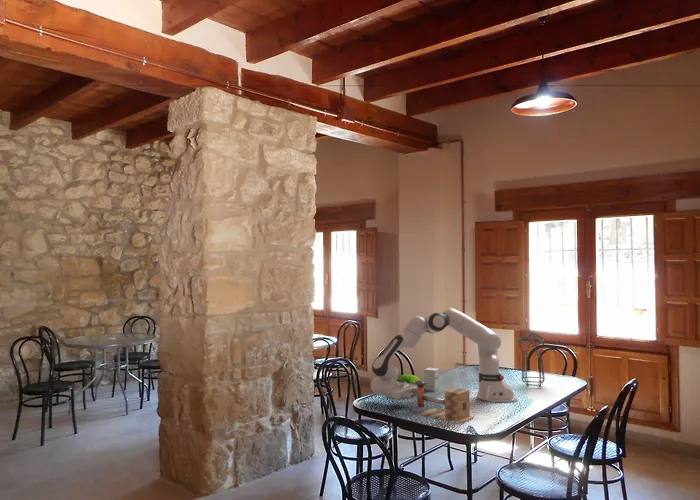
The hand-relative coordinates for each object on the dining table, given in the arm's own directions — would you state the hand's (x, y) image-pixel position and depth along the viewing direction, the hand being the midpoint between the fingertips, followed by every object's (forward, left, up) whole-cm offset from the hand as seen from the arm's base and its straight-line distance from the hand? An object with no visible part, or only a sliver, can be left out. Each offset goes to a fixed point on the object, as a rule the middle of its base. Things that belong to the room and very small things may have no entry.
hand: (416, 394), depth 271 cm
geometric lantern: (-67, -68, -8) cm, 96 cm away
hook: (-7, +4, -6) cm, 10 cm away
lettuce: (+7, -34, -8) cm, 36 cm away
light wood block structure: (-16, +9, -8) cm, 20 cm away
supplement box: (-5, -48, -9) cm, 49 cm away
